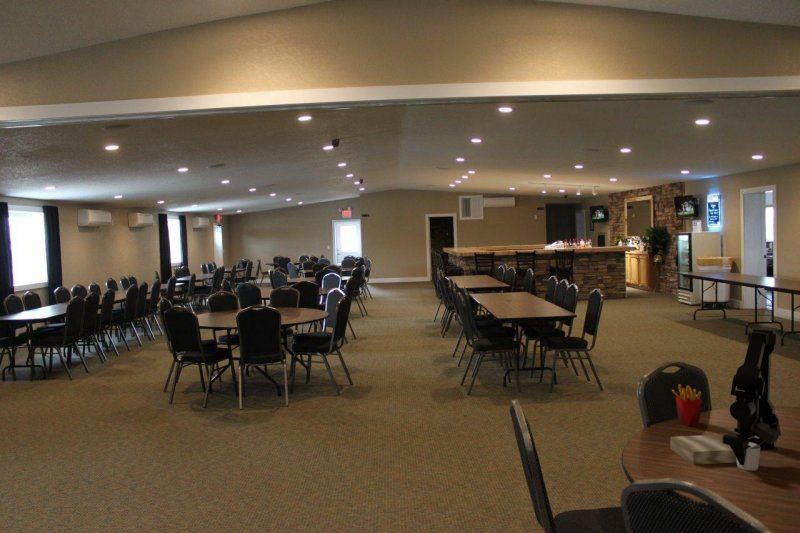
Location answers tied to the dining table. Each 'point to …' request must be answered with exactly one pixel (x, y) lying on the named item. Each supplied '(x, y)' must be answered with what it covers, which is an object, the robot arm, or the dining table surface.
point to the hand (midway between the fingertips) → (747, 462)
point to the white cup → (751, 457)
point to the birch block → (702, 449)
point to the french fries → (688, 406)
